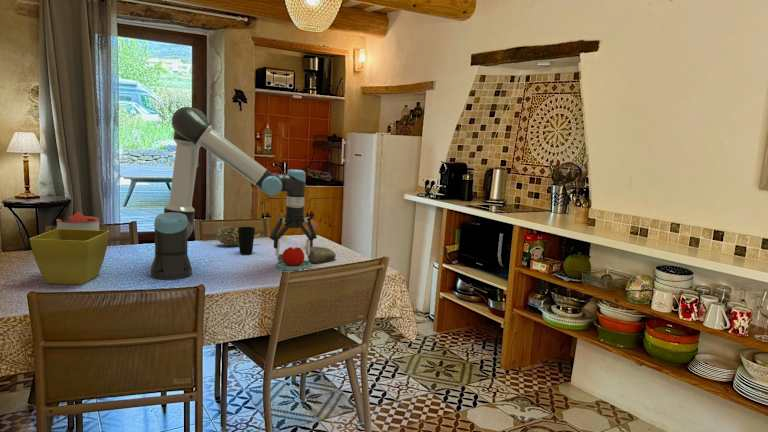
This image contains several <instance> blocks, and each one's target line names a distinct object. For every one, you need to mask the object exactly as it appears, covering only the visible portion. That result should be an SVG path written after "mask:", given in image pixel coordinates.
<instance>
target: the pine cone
mask: <svg viewBox="0 0 768 432" xmlns="http://www.w3.org/2000/svg"><path fill="white" fill-rule="evenodd" d="M238 228H239V227H236V228H235V227H233V226H231V225H230V226H229V225H228V226H222V227H219V228H218V230H216V237H215V239H216V240H217V241H218V242H219V243H221V244H223V245H224V246H230V247H231V246H233V247H234V246H237V247H239V236H238ZM257 238H261V233H260V232H259V233H257V234H254V239H257Z"/></svg>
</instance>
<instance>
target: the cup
mask: <svg viewBox="0 0 768 432" xmlns="http://www.w3.org/2000/svg"><path fill="white" fill-rule="evenodd" d="M237 228H238V236H239V246H238V247H239V254H240V255H243V256H249V255H252V254H253V249H254V239H255V238H254V235H255V232H256V228H255V227H253V226H240V227H237Z"/></svg>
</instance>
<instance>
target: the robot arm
mask: <svg viewBox="0 0 768 432" xmlns="http://www.w3.org/2000/svg"><path fill="white" fill-rule="evenodd" d="M171 126H172V128H173V131H174V132H173V141H174V142H175V143H176V148H175V157H174V162H173V170H172V171H173V172H172V178H171V179H172V180H171V186H170V195H169V201H168V203H167V204H166V205H165V206H164V209H163V213H160V214H157V216H155V217H154V224H153V226H154V258H153V260H152V263H151V267H150V269H149V276H150V277H151V278H153V279H158V280H179V279H184V278H188V277H190V276H193V266H192V264H191V261H190V258H189V255H188V239H189V237H190V236H191V235H192V234H193V231H194V230H195V229H194V228H195V220H194V219H195V214H196V213H195V212H196V211H195V208H194V207H193V199H194V198H193V197H194V190H195V183H196V175H197V168H198V161H199V154H200V148H201V147H202V148H204V149H205V150H207V151H208V152H209V153H211V154H212V155H213V156H215V157H217V159H219V160H220V161H222V162H223V163H225V164H226V165H227V166H228V167H230V168H232V169H233V170H234V171H236V172H237V173H239V174H240V176H242V177H244V178H246V179H247V180H248V181H250V182H251V183H252V184H254V185H255V186H256V187H257V189H258V191H263V193H264V194H266V195H267V196H272V197H273V196H276V195H278V194H279V193H283V192H284V193H286V200H285V201H286V202H285V204H286V205H285V206H286V207H285V217H279V216H278V218H277V223H276V224H275V226H274V228H273V230H272V232H271V233H270V235H269V239H270V240H272V241H273V248H274V249H275V253H274V255H275V256H276V257H277V258H278V257H279V254H280V244H281V241H280V239H281V237H282V236H283V235H284V234H285V233H286V232H287V231H288V230H289V229H300V230H301V231H302V233H303V234H304V235H305V236H306V238H307V239H306V241H305V243H306V244H305V255H307V256H308V255H310V247H312V241H313V242H314V240H315V239H317V234H316V231H314V229H313V227H312V225H311V220H312V219H311V218H310V217H309V216H307V217H304V215H305V208H304V207H305V192H306V171H305V170H302V169H292V168H291V169H288V170H287V173H276V172H275V173H274V172H273V173H272V172H271V171H270V170H268V169H267V168H266V167H264V166H263V165H261V164H260V163H259V162H257V160H255V159H253V158H252V157H250V155H248V154H246V153H245V152H244V151H243V150H242V149H240V148H239V147H237V146H236V145H234V144H233V143H232V142H231V141H229V140H228V139H226V138H225V137H224V136H223V135H221V134H220V133H218V132H217V131H215V129H213V128H214V127H213V125H212V124H211V123H210V122H208V117H207V115H205V113H204V112H203V111H201V109H199V108H195V107H191V106H183V107H180V108H177V110H176V111H174V112H173V114H172V117H171ZM304 222H305V224H307V226H308V228H309V231H307V230H306V229H305V228H304V227H305V225H303V224H304ZM283 223H285V224H284V225H283V227H282V228H281V226H282V224H283ZM280 228H281V229H280ZM310 233H311V235H312V236H311V235H310Z"/></svg>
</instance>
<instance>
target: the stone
mask: <svg viewBox="0 0 768 432" xmlns="http://www.w3.org/2000/svg"><path fill="white" fill-rule="evenodd" d="M336 256H337V255H336V253H335V251H333V250H332V249H330V248H328V247H315V246H313V247H311V248H310V255H307V259H308V261H309V262H310V263H311V264H321V263H325V262H329V261H332V260H334V259H336Z"/></svg>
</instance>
